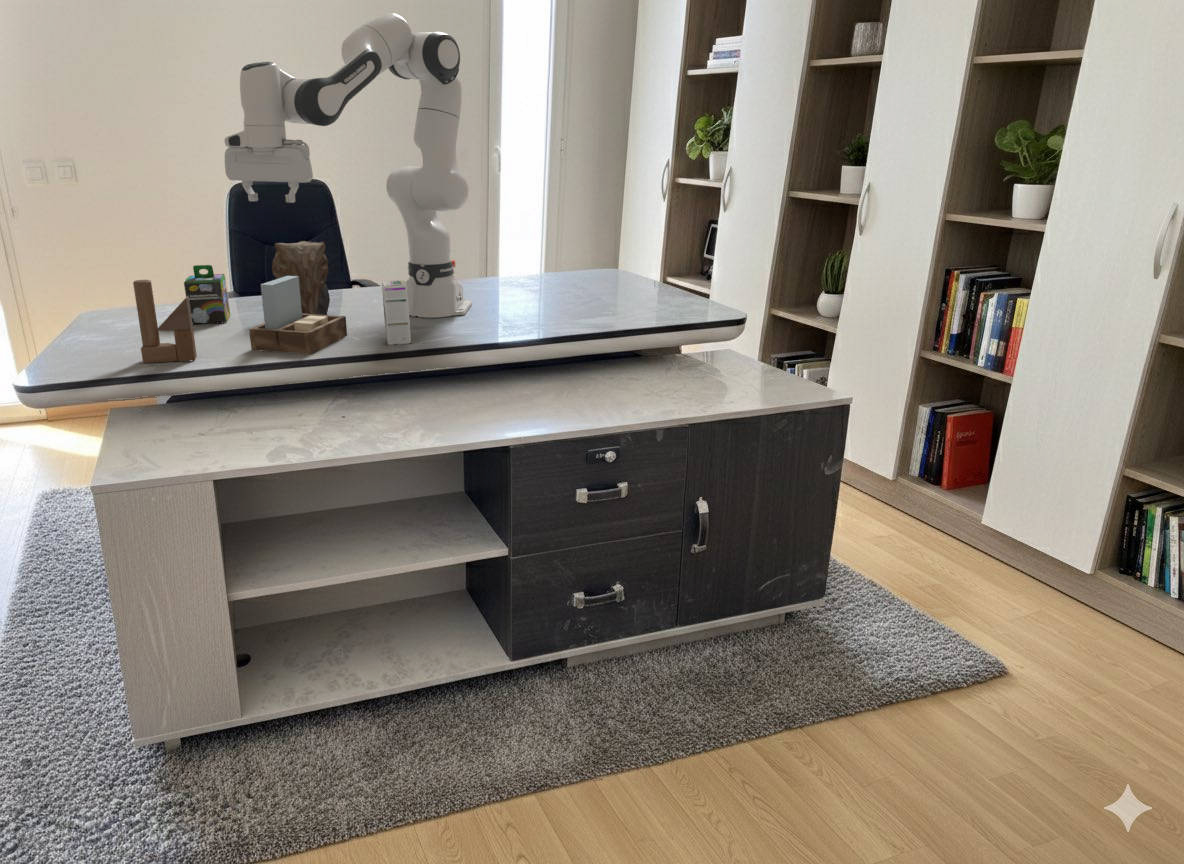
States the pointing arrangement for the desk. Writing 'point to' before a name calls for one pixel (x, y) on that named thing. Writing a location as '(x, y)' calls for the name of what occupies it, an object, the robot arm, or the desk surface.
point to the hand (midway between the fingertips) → (272, 201)
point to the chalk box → (207, 296)
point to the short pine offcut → (310, 323)
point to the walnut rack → (298, 336)
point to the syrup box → (396, 312)
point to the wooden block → (163, 328)
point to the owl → (305, 273)
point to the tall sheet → (281, 302)
